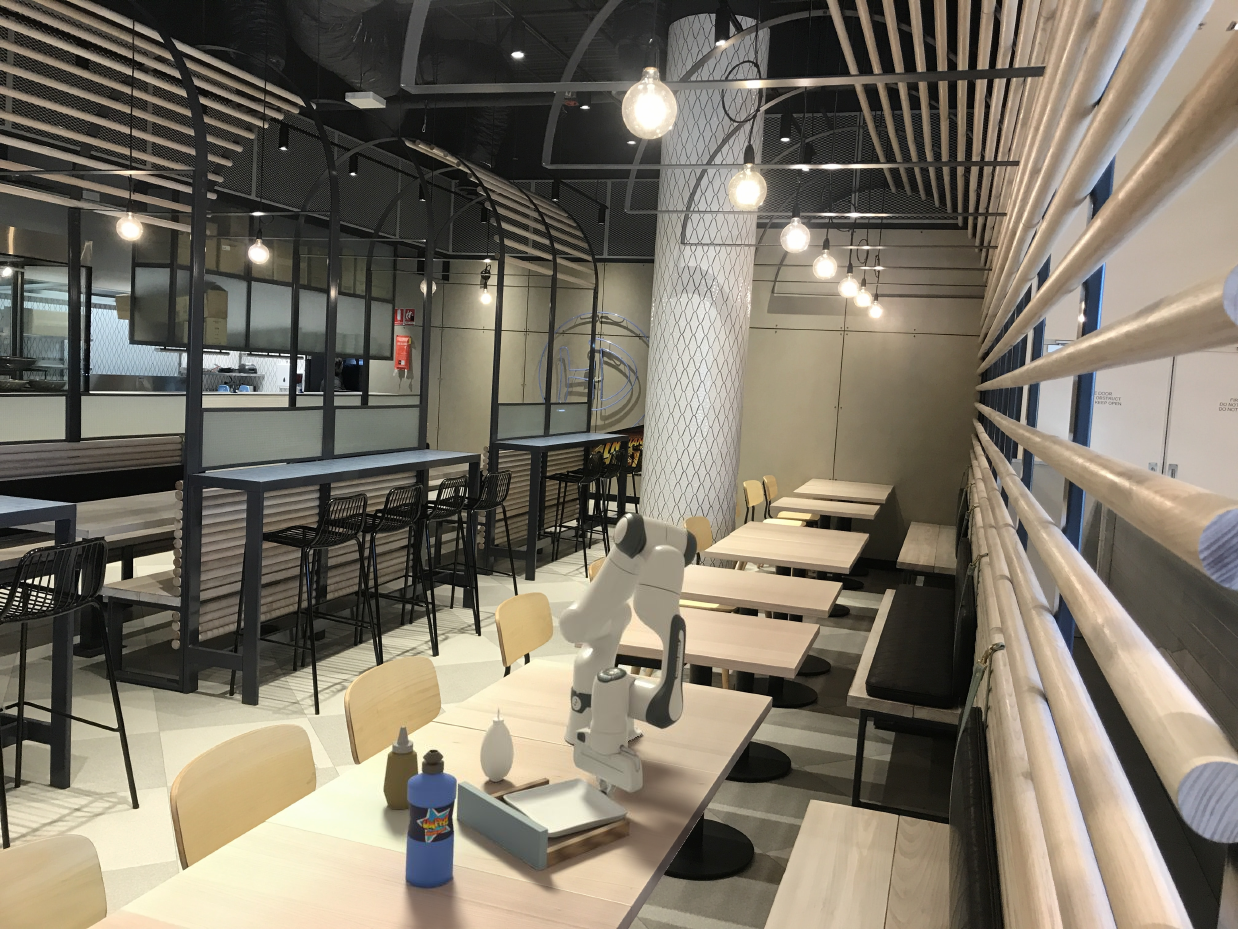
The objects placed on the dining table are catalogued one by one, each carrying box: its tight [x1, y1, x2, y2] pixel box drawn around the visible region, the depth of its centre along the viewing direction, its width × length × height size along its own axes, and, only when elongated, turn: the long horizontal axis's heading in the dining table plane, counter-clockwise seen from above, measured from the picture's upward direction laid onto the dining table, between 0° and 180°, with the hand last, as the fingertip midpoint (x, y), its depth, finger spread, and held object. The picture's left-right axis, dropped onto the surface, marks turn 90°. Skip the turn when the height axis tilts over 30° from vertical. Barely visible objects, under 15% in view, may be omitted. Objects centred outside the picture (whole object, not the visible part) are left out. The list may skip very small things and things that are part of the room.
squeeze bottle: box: [383, 725, 419, 810], centre depth 215 cm, size 8×8×18 cm
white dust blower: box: [479, 707, 515, 783], centre depth 231 cm, size 8×8×18 cm
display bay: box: [456, 777, 630, 872], centre depth 208 cm, size 25×29×8 cm
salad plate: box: [503, 777, 629, 838], centre depth 214 cm, size 21×21×3 cm
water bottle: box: [405, 749, 458, 889], centre depth 184 cm, size 9×9×25 cm
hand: (606, 797), depth 221 cm, fingers closed
